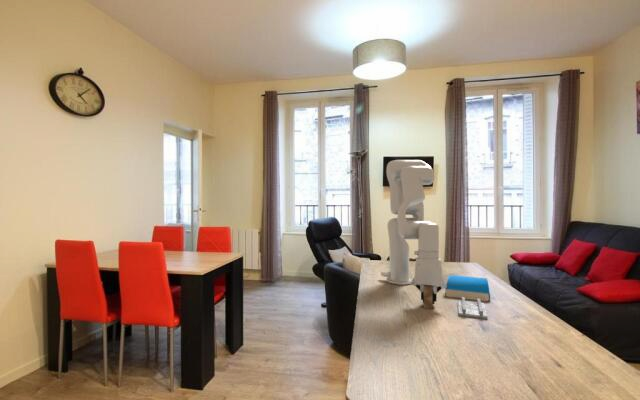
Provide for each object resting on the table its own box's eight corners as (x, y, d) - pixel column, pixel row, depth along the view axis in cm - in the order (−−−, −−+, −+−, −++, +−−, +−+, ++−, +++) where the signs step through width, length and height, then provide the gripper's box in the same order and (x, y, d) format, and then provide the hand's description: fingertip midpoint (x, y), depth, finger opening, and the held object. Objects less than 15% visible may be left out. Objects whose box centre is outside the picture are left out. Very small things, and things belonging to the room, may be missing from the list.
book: (444, 287, 134) (448, 274, 157) (445, 298, 134) (448, 282, 157) (491, 292, 127) (488, 277, 149) (491, 303, 127) (488, 286, 149)
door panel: (423, 308, 120) (423, 286, 120) (425, 301, 127) (425, 281, 127) (432, 309, 118) (431, 287, 118) (433, 302, 126) (433, 282, 126)
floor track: (487, 319, 108) (487, 312, 108) (458, 315, 112) (458, 308, 112) (483, 305, 122) (483, 299, 122) (458, 302, 126) (458, 296, 126)
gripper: (405, 255, 122) (405, 303, 122) (451, 258, 116) (451, 308, 116) (408, 252, 129) (408, 297, 129) (451, 254, 123) (451, 302, 123)
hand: (428, 302), depth 123 cm, fingers closed on door panel, 2 cm apart
